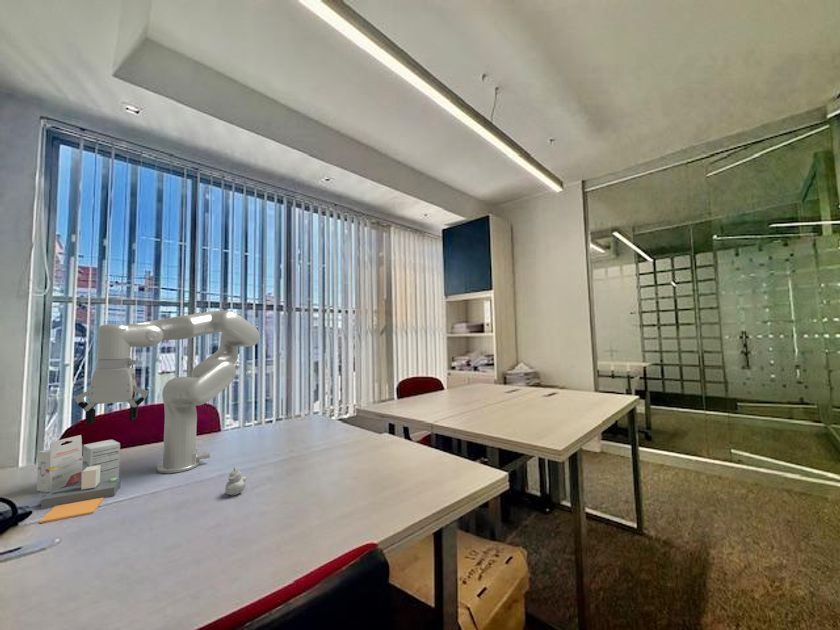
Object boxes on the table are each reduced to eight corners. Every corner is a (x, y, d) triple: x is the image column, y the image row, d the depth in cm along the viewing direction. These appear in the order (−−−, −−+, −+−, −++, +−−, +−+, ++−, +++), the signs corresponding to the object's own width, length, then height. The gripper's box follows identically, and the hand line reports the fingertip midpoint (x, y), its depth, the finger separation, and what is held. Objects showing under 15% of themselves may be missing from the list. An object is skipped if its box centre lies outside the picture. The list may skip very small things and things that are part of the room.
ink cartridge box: (69, 479, 112) (72, 433, 112) (81, 480, 111) (83, 434, 111) (35, 491, 103) (38, 441, 104) (47, 492, 102) (50, 442, 103)
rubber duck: (219, 496, 99) (220, 468, 100) (238, 487, 106) (239, 460, 106) (233, 499, 98) (234, 470, 98) (252, 489, 104) (252, 462, 104)
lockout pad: (103, 499, 98) (103, 497, 98) (93, 513, 90) (93, 511, 90) (54, 508, 93) (54, 506, 93) (39, 523, 85) (39, 521, 85)
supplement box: (80, 486, 107) (82, 444, 107) (111, 477, 113) (113, 438, 114) (87, 492, 103) (89, 448, 103) (119, 483, 109) (121, 442, 110)
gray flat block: (120, 486, 106) (120, 475, 106) (113, 496, 100) (114, 484, 100) (52, 498, 99) (52, 486, 99) (40, 509, 92) (41, 496, 93)
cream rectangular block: (99, 482, 103) (100, 465, 103) (95, 487, 99) (96, 469, 99) (86, 484, 101) (87, 467, 101) (81, 489, 98) (82, 471, 98)
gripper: (152, 362, 112) (151, 415, 111) (81, 365, 104) (80, 422, 104) (145, 364, 105) (144, 421, 104) (69, 367, 98) (67, 428, 97)
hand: (112, 421), depth 104 cm, fingers open, 9 cm apart
